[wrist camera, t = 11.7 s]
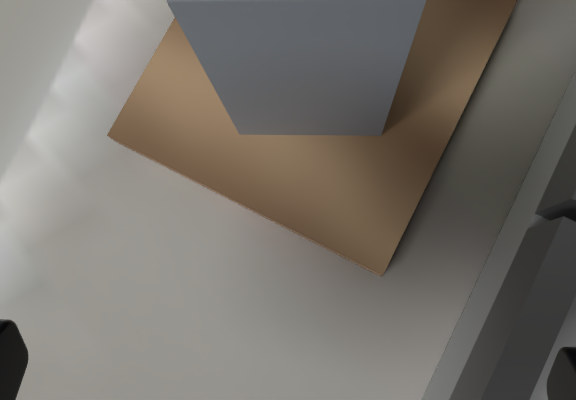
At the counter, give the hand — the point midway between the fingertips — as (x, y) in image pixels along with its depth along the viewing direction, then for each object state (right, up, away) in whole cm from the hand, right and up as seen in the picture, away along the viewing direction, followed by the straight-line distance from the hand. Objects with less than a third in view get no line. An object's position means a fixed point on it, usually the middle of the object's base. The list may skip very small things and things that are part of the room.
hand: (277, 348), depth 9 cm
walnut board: (+1, +7, +11) cm, 14 cm away
